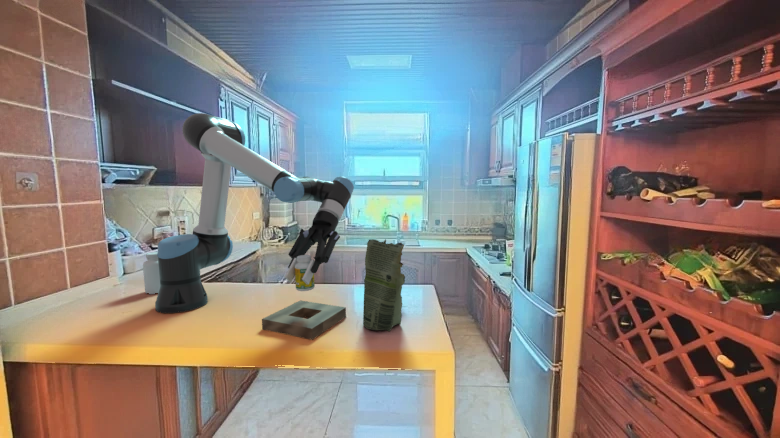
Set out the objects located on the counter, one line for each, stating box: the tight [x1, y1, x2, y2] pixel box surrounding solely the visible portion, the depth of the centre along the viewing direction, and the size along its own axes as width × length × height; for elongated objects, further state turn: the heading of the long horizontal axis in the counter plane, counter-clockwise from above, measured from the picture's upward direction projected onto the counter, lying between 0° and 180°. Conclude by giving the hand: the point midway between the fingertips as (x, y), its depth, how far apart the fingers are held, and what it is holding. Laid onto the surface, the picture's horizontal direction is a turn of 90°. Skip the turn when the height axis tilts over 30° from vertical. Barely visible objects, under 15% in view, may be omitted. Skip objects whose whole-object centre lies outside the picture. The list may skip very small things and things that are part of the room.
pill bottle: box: [142, 251, 160, 295], centre depth 132 cm, size 8×8×15 cm
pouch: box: [362, 238, 406, 332], centre depth 98 cm, size 11×12×25 cm
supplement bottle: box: [294, 254, 316, 292], centre depth 100 cm, size 5×5×10 cm
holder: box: [261, 299, 347, 341], centre depth 101 cm, size 17×17×3 cm
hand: (296, 280), depth 97 cm, fingers closed on supplement bottle, 5 cm apart
